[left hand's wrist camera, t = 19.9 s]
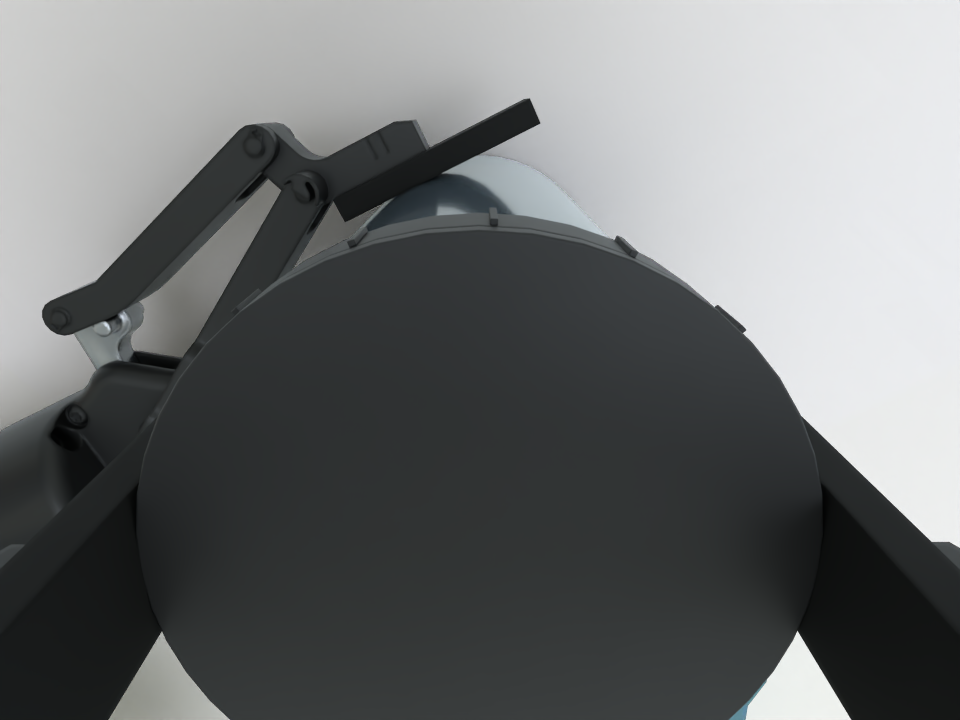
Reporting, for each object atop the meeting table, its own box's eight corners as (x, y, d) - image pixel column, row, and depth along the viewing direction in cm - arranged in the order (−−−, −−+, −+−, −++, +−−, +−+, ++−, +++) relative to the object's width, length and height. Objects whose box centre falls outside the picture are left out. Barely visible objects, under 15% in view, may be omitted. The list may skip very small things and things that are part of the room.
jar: (483, 101, 27) (491, 92, 9) (640, 277, 29) (895, 549, 11) (318, 269, 29) (60, 533, 11) (476, 419, 32) (472, 831, 14)
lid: (180, 710, 14) (144, 784, 12) (163, 163, 10) (108, 173, 9) (698, 759, 14) (724, 838, 13) (864, 255, 10) (930, 281, 9)
